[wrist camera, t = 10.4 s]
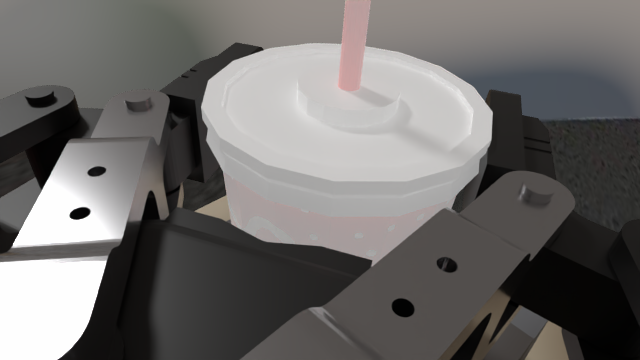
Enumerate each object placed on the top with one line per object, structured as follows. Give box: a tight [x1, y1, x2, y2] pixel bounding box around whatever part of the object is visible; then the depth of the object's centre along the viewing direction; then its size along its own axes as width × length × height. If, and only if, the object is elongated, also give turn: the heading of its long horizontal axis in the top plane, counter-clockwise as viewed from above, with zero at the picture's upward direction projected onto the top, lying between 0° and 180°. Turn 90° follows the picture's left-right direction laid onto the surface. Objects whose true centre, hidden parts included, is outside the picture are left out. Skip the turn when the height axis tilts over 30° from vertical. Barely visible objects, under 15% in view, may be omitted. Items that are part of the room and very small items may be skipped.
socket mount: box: [194, 195, 569, 360], centre depth 16 cm, size 18×18×4 cm
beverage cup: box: [201, 0, 493, 267], centre depth 11 cm, size 6×6×14 cm
